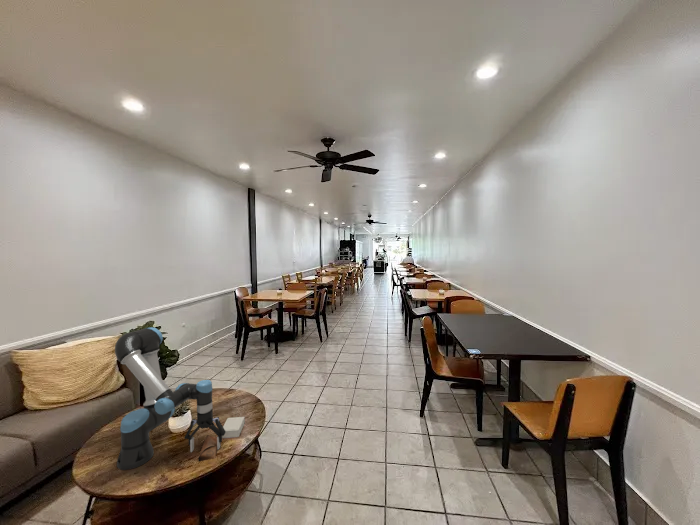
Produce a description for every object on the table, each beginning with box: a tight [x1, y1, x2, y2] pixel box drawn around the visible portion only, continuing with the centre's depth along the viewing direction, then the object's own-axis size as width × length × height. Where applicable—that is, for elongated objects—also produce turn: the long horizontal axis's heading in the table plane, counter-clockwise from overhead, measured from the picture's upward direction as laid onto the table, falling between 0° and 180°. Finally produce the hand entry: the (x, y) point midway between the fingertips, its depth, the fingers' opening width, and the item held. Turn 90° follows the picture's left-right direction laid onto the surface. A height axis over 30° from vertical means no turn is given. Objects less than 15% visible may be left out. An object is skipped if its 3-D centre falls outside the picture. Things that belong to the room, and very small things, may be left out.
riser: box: [222, 416, 246, 439], centre depth 171 cm, size 14×10×4 cm
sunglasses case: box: [198, 434, 218, 462], centre depth 154 cm, size 18×7×7 cm
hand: (205, 449), depth 154 cm, fingers open, 13 cm apart
